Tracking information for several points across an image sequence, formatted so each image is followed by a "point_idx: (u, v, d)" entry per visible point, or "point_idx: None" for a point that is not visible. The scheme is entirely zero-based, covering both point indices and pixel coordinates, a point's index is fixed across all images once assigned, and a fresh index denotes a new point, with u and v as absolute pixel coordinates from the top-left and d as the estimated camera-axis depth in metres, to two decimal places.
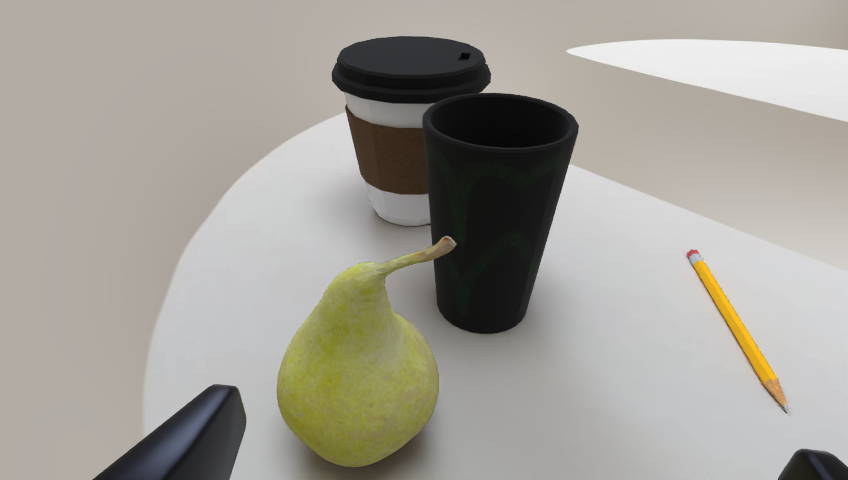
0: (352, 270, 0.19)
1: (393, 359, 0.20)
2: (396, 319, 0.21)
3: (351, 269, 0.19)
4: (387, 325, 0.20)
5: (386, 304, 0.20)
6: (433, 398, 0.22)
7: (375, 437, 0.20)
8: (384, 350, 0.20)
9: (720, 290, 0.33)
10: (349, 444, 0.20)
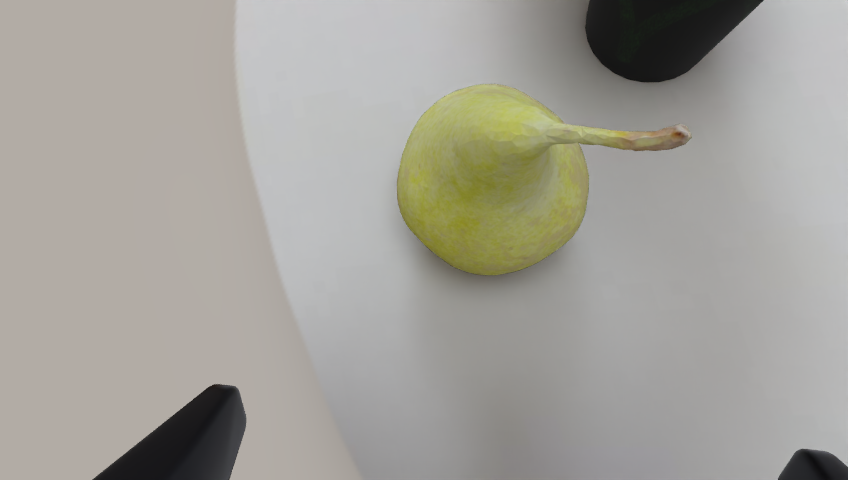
0: (509, 126, 0.13)
1: (544, 202, 0.16)
2: (552, 146, 0.16)
3: (507, 122, 0.13)
4: (543, 170, 0.15)
5: (547, 151, 0.14)
6: (580, 223, 0.18)
7: (511, 268, 0.18)
8: (534, 197, 0.16)
9: None
10: (482, 271, 0.19)
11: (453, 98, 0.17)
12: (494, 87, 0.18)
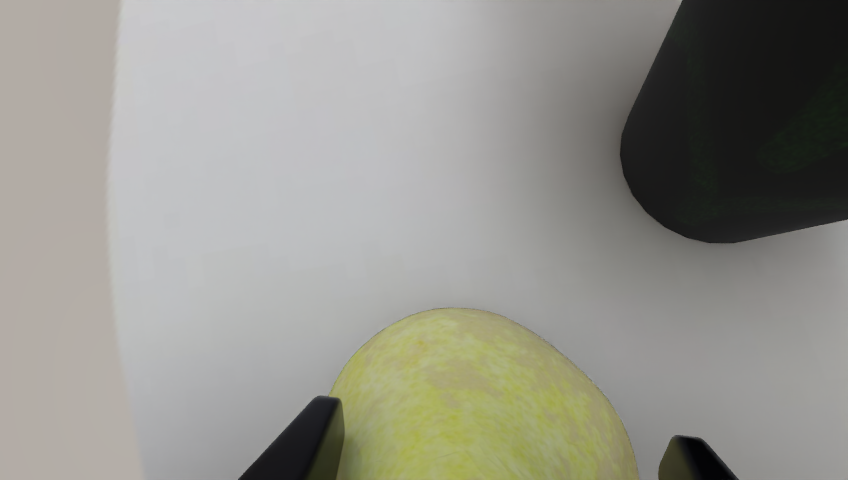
0: None
1: None
2: None
3: None
4: None
5: None
6: None
7: None
8: None
9: None
10: None
11: (390, 373, 0.10)
12: (466, 348, 0.10)
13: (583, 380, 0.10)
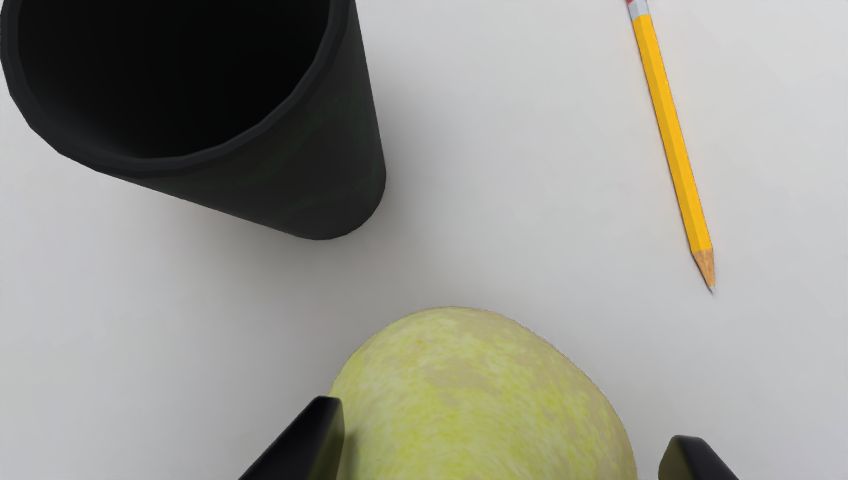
0: None
1: None
2: None
3: None
4: None
5: None
6: None
7: None
8: None
9: (663, 81, 0.22)
10: None
11: (389, 372, 0.10)
12: (465, 347, 0.10)
13: (582, 379, 0.10)
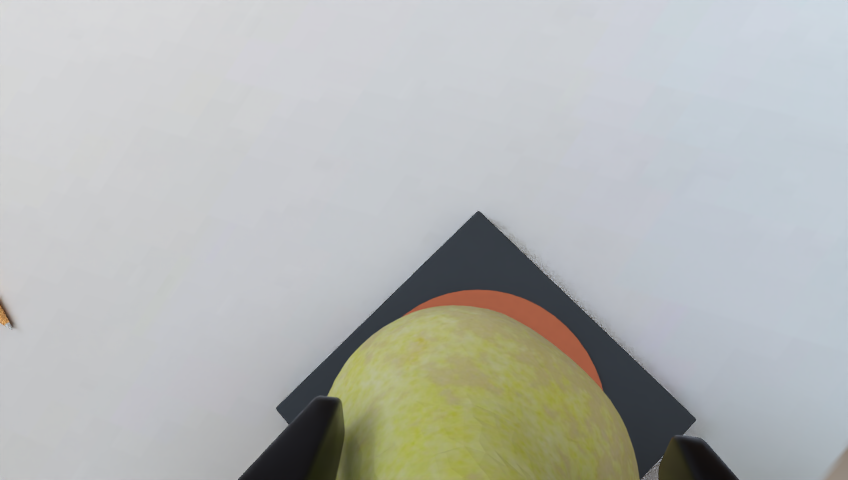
0: None
1: None
2: None
3: None
4: None
5: None
6: None
7: None
8: None
9: None
10: None
11: (390, 370, 0.10)
12: (466, 345, 0.10)
13: (583, 377, 0.10)
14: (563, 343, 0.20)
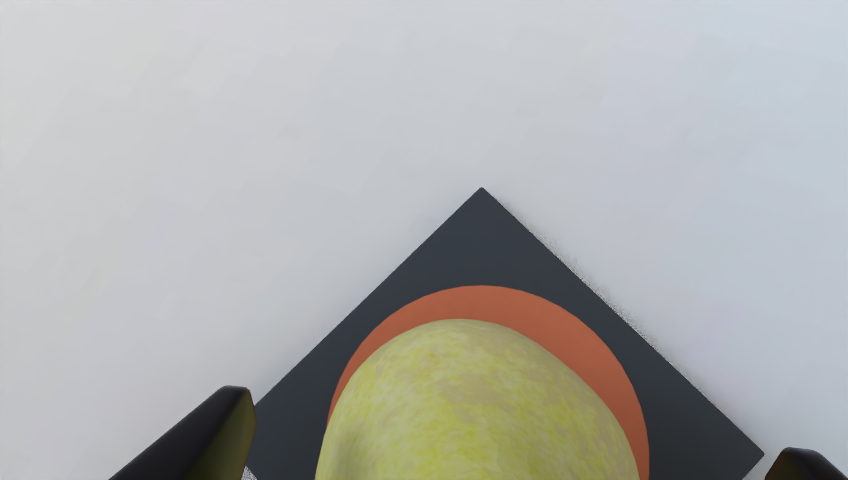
0: None
1: None
2: None
3: None
4: None
5: None
6: None
7: None
8: None
9: None
10: None
11: (403, 385, 0.10)
12: (478, 362, 0.10)
13: (590, 394, 0.11)
14: (590, 354, 0.15)
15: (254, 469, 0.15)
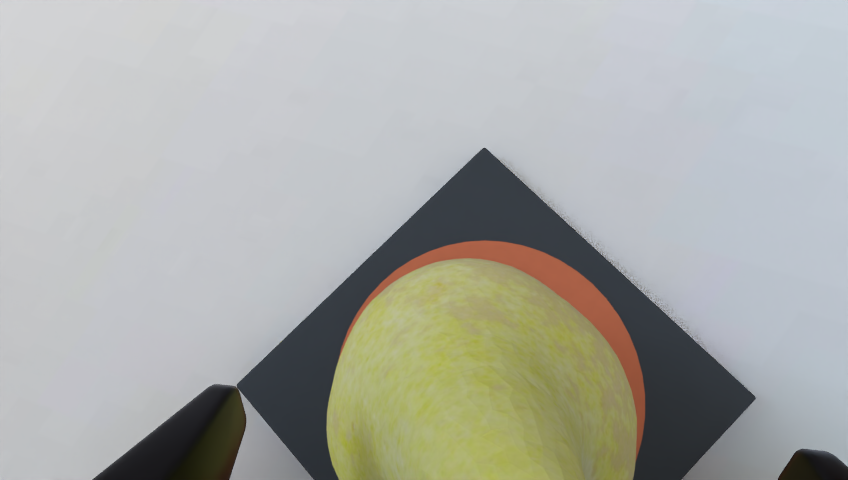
0: None
1: None
2: (584, 435, 0.09)
3: None
4: None
5: None
6: None
7: None
8: None
9: None
10: None
11: (412, 309, 0.10)
12: (482, 288, 0.10)
13: (588, 323, 0.11)
14: (589, 304, 0.16)
15: (266, 416, 0.16)
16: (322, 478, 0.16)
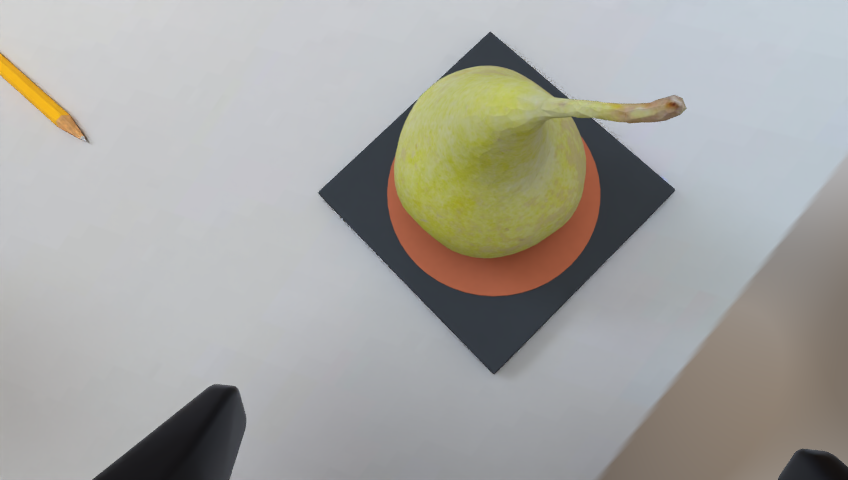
0: (504, 100, 0.13)
1: (540, 182, 0.16)
2: (549, 126, 0.16)
3: (502, 97, 0.13)
4: (540, 149, 0.15)
5: (543, 129, 0.14)
6: (577, 206, 0.18)
7: (507, 251, 0.18)
8: (530, 176, 0.16)
9: None
10: (478, 253, 0.19)
11: (450, 78, 0.17)
12: (492, 68, 0.18)
13: None
14: None
15: (339, 211, 0.23)
16: (380, 249, 0.23)
